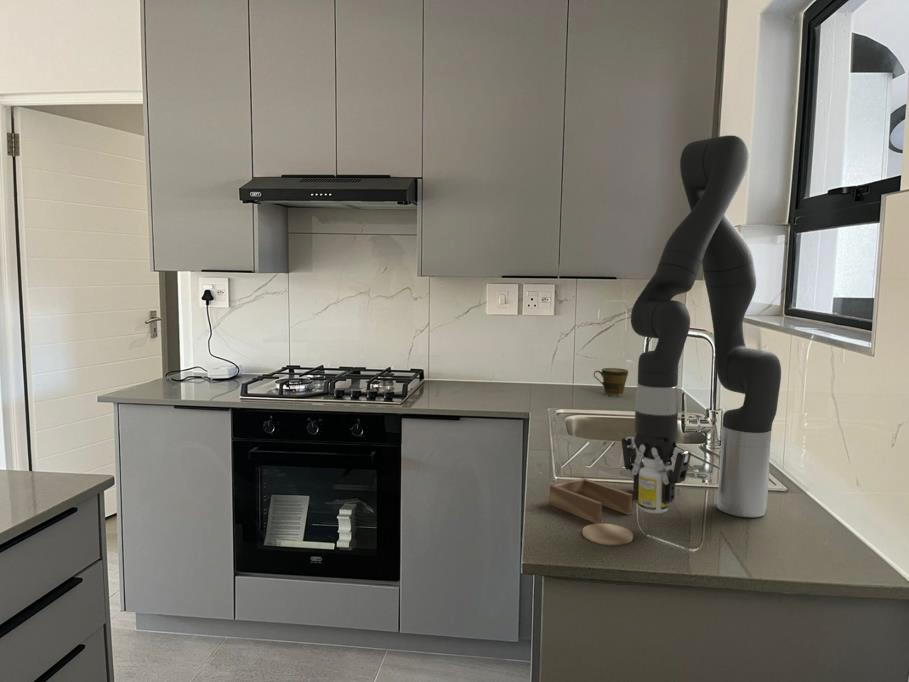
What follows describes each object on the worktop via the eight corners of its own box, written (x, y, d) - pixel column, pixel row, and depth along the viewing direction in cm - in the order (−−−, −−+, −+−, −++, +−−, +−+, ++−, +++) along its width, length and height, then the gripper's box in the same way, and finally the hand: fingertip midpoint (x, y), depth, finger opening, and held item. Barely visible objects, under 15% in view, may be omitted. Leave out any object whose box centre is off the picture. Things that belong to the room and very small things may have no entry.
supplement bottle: (662, 503, 134) (664, 453, 133) (672, 513, 129) (674, 461, 128) (634, 503, 134) (635, 453, 133) (642, 514, 129) (644, 461, 127)
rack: (582, 496, 151) (583, 477, 151) (631, 514, 141) (632, 494, 141) (549, 504, 145) (550, 485, 145) (597, 524, 135) (598, 503, 134)
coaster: (604, 523, 135) (605, 520, 135) (643, 538, 128) (643, 535, 128) (572, 532, 130) (572, 529, 130) (610, 549, 123) (610, 546, 123)
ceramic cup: (625, 393, 277) (626, 368, 276) (628, 398, 267) (629, 372, 266) (591, 392, 279) (593, 367, 278) (593, 396, 269) (594, 370, 268)
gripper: (703, 413, 126) (699, 505, 128) (637, 399, 137) (634, 484, 139) (677, 418, 121) (673, 514, 123) (612, 404, 133) (609, 492, 135)
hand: (653, 498), depth 131 cm, fingers closed on supplement bottle, 5 cm apart
